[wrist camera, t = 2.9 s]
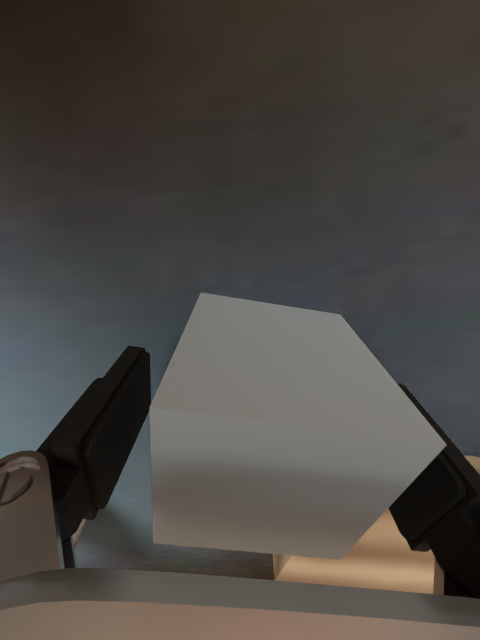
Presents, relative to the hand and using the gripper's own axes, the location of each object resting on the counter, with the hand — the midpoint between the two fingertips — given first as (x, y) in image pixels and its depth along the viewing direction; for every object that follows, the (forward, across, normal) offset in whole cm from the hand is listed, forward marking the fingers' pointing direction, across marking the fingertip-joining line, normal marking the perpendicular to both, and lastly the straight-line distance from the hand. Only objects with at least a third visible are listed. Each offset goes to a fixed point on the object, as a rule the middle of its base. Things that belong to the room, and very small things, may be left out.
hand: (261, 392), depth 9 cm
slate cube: (+2, 0, 0) cm, 2 cm away
